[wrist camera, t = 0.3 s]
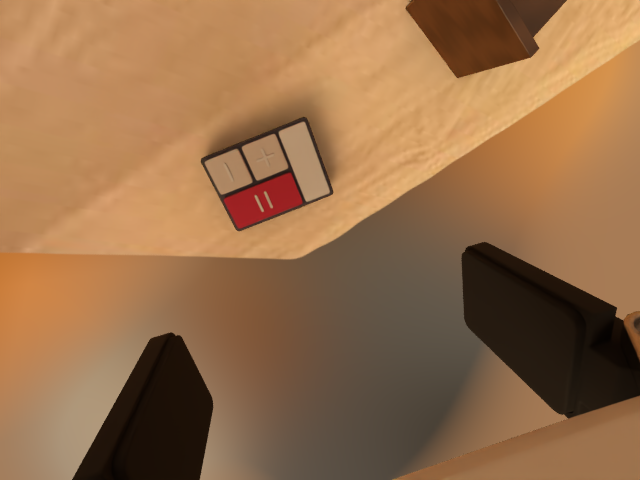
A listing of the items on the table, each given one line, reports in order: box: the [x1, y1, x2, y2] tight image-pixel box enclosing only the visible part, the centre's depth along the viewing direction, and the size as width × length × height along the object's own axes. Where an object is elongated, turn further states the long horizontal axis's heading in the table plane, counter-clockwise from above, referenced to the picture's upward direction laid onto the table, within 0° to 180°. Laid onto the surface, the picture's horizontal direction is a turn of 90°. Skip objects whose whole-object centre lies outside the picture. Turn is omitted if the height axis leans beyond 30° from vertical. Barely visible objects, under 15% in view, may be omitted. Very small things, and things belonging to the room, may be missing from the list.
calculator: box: [201, 117, 333, 231], centre depth 42 cm, size 11×4×15 cm
